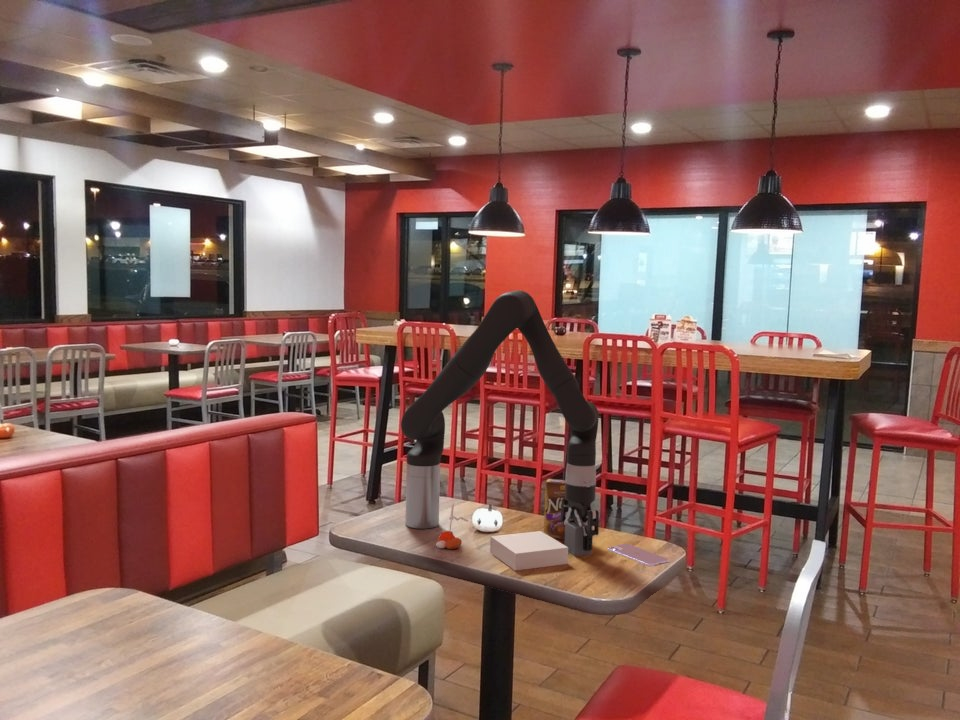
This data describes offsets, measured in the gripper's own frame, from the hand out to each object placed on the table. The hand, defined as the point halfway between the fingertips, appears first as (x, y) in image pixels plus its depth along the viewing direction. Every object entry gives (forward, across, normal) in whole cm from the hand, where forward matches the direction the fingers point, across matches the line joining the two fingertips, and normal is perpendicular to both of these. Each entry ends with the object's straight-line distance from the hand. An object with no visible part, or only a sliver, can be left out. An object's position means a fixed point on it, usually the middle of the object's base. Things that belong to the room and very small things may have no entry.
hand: (578, 545), depth 194 cm
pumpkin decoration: (+2, -13, -29) cm, 32 cm away
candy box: (+2, -12, +2) cm, 12 cm away
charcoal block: (+2, 0, 0) cm, 2 cm away
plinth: (+2, 0, -14) cm, 14 cm away
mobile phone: (+2, +7, +13) cm, 15 cm away
